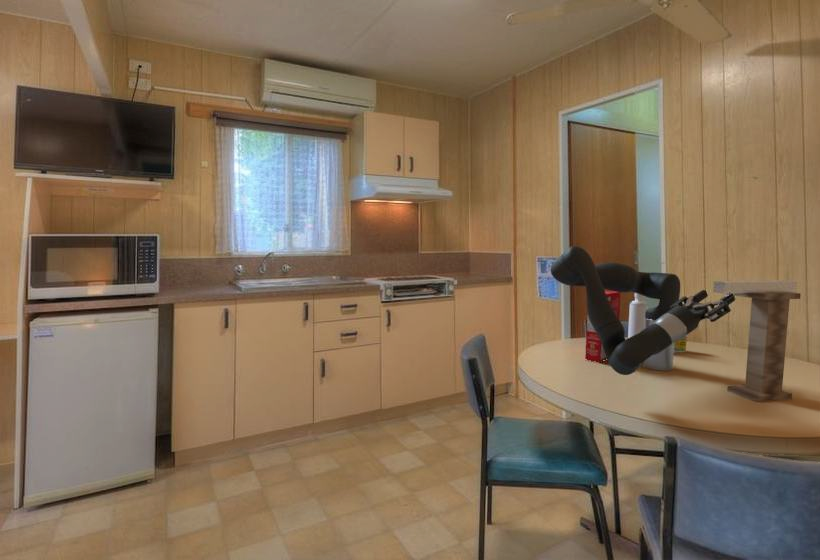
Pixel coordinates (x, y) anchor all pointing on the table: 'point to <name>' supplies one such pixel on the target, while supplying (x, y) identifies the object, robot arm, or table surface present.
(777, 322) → the walnut stand
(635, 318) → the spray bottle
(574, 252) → the robot arm
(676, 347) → the supplement bottle
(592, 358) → the food packaging
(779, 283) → the beige long bar
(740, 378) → the table surface
